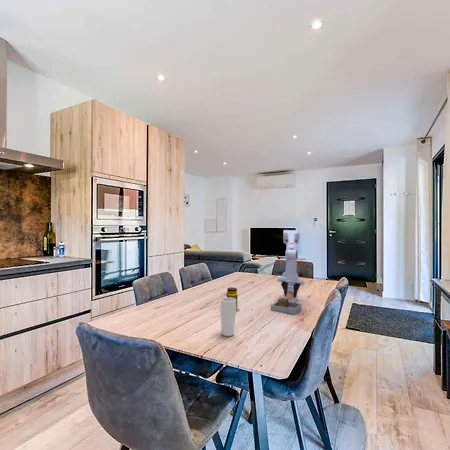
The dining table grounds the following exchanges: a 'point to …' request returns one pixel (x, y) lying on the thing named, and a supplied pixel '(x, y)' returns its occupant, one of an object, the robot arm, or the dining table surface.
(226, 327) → the drinking glass
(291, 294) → the ball
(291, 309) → the tray
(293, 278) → the robot arm
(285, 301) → the cube
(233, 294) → the condiment
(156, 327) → the dining table surface
